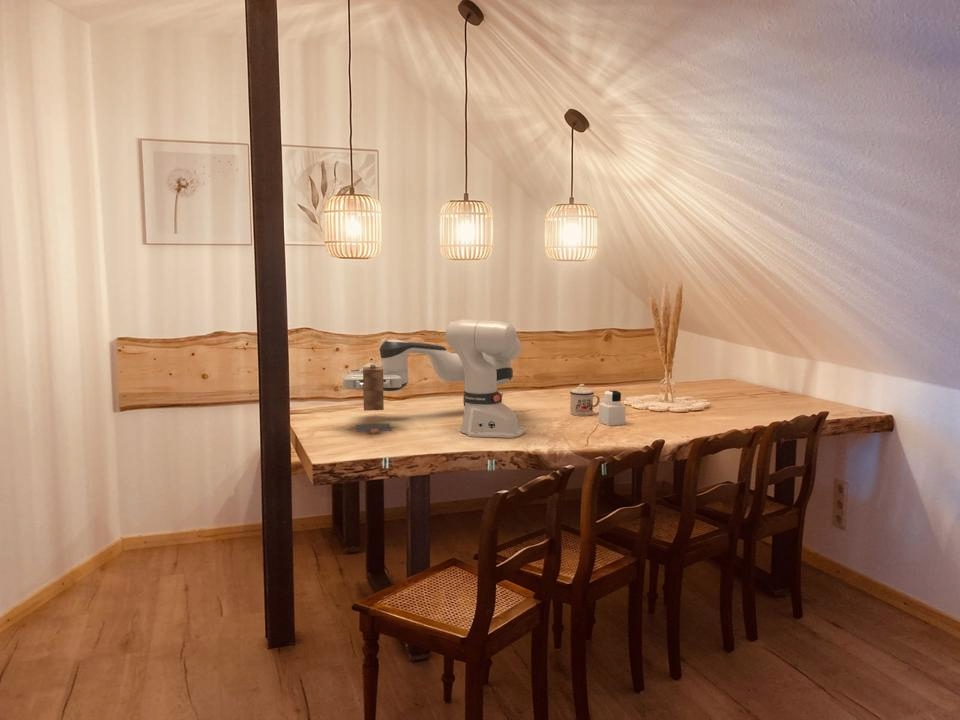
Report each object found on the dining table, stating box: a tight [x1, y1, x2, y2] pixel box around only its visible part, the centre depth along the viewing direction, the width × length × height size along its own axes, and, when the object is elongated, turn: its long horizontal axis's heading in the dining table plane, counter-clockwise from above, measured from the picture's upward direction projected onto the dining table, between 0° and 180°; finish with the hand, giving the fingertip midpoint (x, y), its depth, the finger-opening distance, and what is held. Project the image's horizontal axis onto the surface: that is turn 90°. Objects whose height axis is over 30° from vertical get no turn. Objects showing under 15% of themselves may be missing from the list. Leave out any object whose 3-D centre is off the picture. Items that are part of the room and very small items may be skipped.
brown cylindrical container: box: [362, 363, 385, 412], centre depth 279 cm, size 7×7×15 cm
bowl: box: [370, 429, 379, 435], centre depth 281 cm, size 3×3×2 cm
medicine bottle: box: [598, 390, 626, 427], centre depth 297 cm, size 7×7×12 cm
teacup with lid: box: [569, 383, 601, 417], centre depth 315 cm, size 12×9×12 cm
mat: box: [355, 422, 392, 433], centre depth 289 cm, size 12×12×1 cm
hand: (373, 385), depth 278 cm, fingers closed on brown cylindrical container, 7 cm apart
